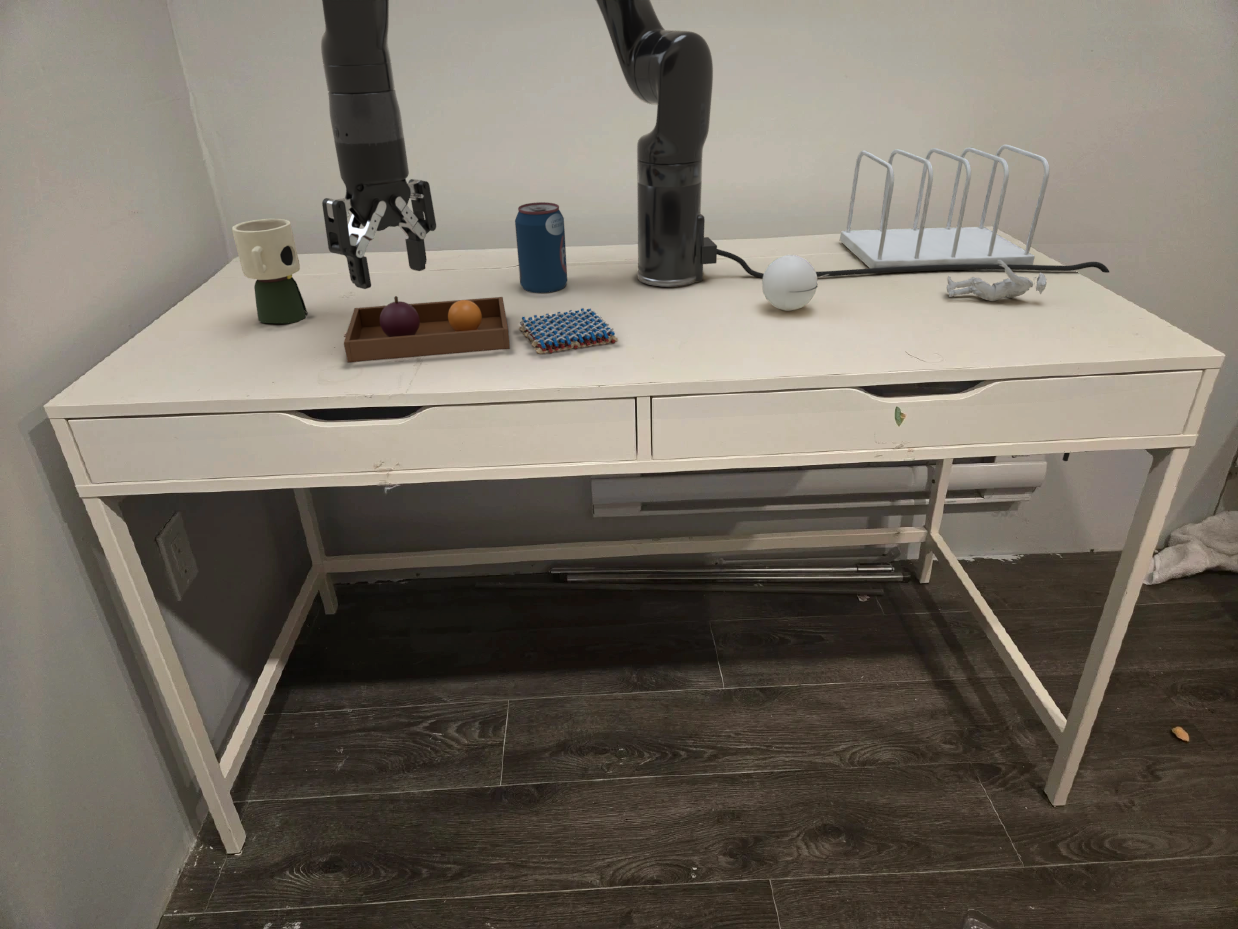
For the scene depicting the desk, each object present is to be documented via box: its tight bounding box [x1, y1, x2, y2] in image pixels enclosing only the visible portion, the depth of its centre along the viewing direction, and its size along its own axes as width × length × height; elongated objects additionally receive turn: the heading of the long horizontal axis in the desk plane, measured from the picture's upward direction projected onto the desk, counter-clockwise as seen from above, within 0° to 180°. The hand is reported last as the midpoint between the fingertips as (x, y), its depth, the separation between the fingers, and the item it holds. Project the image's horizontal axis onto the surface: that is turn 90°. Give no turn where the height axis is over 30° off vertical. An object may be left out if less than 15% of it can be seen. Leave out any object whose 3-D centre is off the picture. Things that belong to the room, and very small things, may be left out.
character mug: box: [231, 218, 309, 325], centre depth 107 cm, size 11×7×13 cm, turn 7°
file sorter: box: [839, 144, 1051, 269], centre depth 127 cm, size 25×17×16 cm
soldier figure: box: [946, 260, 1048, 302], centre depth 111 cm, size 8×5×12 cm
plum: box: [380, 295, 420, 337], centre depth 101 cm, size 5×5×6 cm
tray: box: [343, 296, 511, 363], centre depth 102 cm, size 19×12×3 cm, turn 100°
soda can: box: [514, 201, 568, 294], centre depth 117 cm, size 7×7×12 cm
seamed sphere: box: [761, 254, 829, 312], centre depth 109 cm, size 10×7×7 cm
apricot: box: [448, 299, 482, 332], centre depth 103 cm, size 4×4×4 cm
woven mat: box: [518, 307, 619, 355], centre depth 102 cm, size 10×11×2 cm
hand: (391, 278), depth 98 cm, fingers open, 8 cm apart
